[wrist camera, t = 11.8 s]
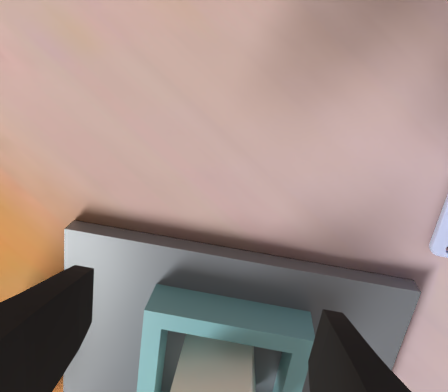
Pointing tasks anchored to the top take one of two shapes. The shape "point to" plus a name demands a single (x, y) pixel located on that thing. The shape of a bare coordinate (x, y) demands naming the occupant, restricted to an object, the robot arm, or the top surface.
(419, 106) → the top surface
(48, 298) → the robot arm
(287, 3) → the top surface
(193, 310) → the organizer
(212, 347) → the cream block
